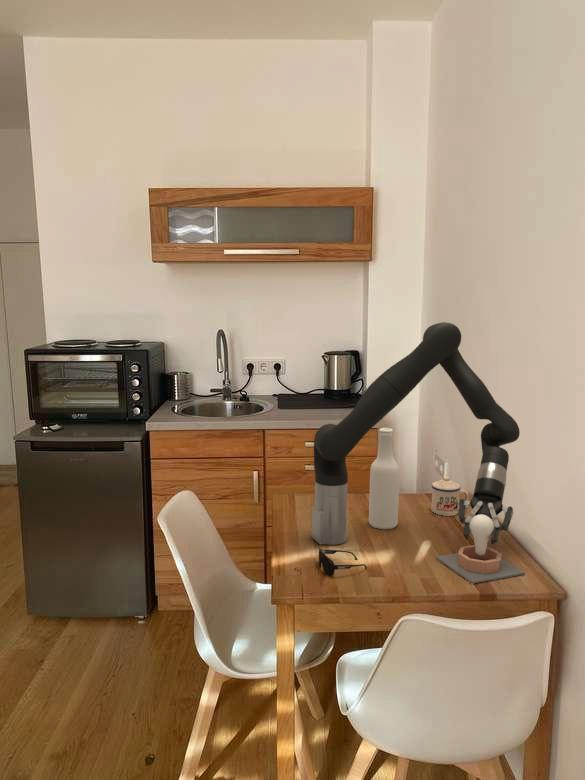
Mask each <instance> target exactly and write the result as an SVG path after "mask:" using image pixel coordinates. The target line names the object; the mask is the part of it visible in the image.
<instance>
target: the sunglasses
mask: <svg viewBox="0 0 585 780" xmlns="http://www.w3.org/2000/svg"><path fill="white" fill-rule="evenodd" d="M339 552H340V553H346V554H347V553H348V554H351V555H352V556H353V557H354V560H355V561H358V558H357V556H356V555H355V553H353V552H351V551H348V550H342V549H336V550H335V549H322V548H320V547H318V563H319V568H321V567H322V569H323V573H325V574H327V575H329V576H330V577H333V576H334V575H335V570H350V569H352V568H353V567H355V568H356V567H361V566H364V570H367V565H366V564H365V563H362V564H335V563H334V560H332V559H331V558H330V557H328V556H327V555H334V554H336V553H339Z"/></svg>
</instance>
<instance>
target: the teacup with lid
mask: <svg viewBox="0 0 585 780" xmlns="http://www.w3.org/2000/svg"><path fill="white" fill-rule="evenodd" d="M431 488H432V489H431V505H430V506H431V508H430V510H431V512H432V513H433V512H434V513H433V514H435V513H436V514H435V515H437V514H438V515H437V516H441V515H443V516H442V517H452V516H457V515H459V502H460V494H462V493H463V494H465V498H464V501H469V493H468V491H466V490H465V489H461V485H460V484H459V483H457V482H454V481H453V480H451V478H450V477H449V476H443V479H440V480H437V481H436V480H435V481H433V482H432V483H431Z"/></svg>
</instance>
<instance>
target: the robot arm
mask: <svg viewBox="0 0 585 780" xmlns="http://www.w3.org/2000/svg"><path fill="white" fill-rule="evenodd" d="M461 342H462V332H461V331H460V328H459V327H458V326H457V325H455V324H454V323H451V322H445V321H444V322H438V323H434V324H432V325H430V326H428V327H427V328H426V329H425V331H424V333H423V335H422V341H421V342H420V343H419V344H418V345H417V346H416V347H415V348H414V349H413V350H412V351H411V352H410V353H409V354H407V355H406V356H405V357H403V358H401V359H400V360H399V361H397V362H395V363H393V365H392V366H390V367H389V368H387V369H386V370H385V371H383V372H382V373H381V374H380V375H379V376H378V377H377V378H376V379H375V380H374V381H373V382H371V384H370V385H369V386H368V387H367V388H366V389H365V391H364V392H363V393H362V395H361V397H360V398H359V400H358V402H357V403H356V405H354V408H353V409H352V411H350V413H349V414H348V415H347V416H345V417H344V418H343V419H342V420H341V421H339V422H338V423H337V424H333V423H327V424H326V423H325V424H323V425H322V426H321V427H319V428H318V429H317V431H316V432H315V434H314V439H313V471H314V480H315V481H314V482H315V483H314V504H313V505H312V506H311V538H312V539H313V540H315V542H316V543H317V544H319V545H329V546H330V545H331V546H334V545H335V546H336V545H341V544H343V543H345V542H346V541H347V529H348V528H347V526H348V525H347V524H348V523H347V522H348V521H347V518H348V484H349V483H348V479H349V478H348V477H349V476H348V475H349V474H348V470H347V469H348V468H347V463H346V462H347V461H346V459H347V456H348V455H349V454H350V453H351V452H352V450H353V449H355V447H356V446H357V445H358V443H360V441H361V440H362V438H364V437H365V435H366V434H367V433H368V432H369V431H370V430H371V429H372V428H373V427H375V426H376V425H377V424H379V422H380V421H382V420H383V419H384V418H385V417H386V416H387V415H388V414H389V413H390V412H391V411H392V410H394V408H396V407H397V406H398V405H399V404H400V403H401V402H402V401H404V399H406V397H407V396H408V395H409V394H410V393H411V392H412V391H413V390H414V389H415V388H416V387H417V386H418V385H419V383H421V381H422V380H423V379H424V378H425V377H426V376H427V375H428V373H430V372H431V371H432V370H433V369H434V368H435V367H437V366H438V365H440V366H441V367H442V369H443V370H444V372H445V373H446V374H447V375H448V377H449V378H450V380H451V381H452V382H453V384H454V385H455V387H456V389H457V390H458V392H459V394H460V395H461V397H462V399H463V400H464V402H465V404H466V405H467V406H468V408H469V410H470V411H471V413H472V414H473V415H474V417H475V418H476V419H477V420H487V421H489V423H487V424H485V425H484V426H483V428H482V429H481V431H480V441H481V451H482V455H481V456H482V457H481V461H480V466H479V468H478V472H477V475H476V480H475V485H474V490H473V495H472V498H471V499H470V500H467V501H464V500H465V498H459V511H458V520H459V523H460V524H463V530H462V534H463V537H464V538H465V540H469V539H470V535H471V531H470V527H469V525H470V521H471V519H472V518H473V517H474V516H476V515H480V514H482V515H486V516H488V517H489V518H490V519H491V520H492V521H493V524H494V530H493V532H492V535H491V537H490V538H491V539H490V543H491V545H495V544H496V543H498V541H499V536H500V533H501V531H508V530H509V526H510V524H511V521H512V518H513V515H514V509H513V507H512V506H510V505H509V506H505V505H503V499H504V494H505V488H506V485H507V483H506V482H507V470H508V466H509V465H508V464H509V460H510V458H509V457H510V456H509V452H508V451H507V450H506V449H505V448H503V447H501V446H505V445H507V444H511V443H514V442H516V441H518V439H519V437H520V428H519V425H518V423H517V421H516V420H515V419H514V418H513V416H511V415H510V414H509V413H508V412H507V411H506V410H505V409H504V408H503V407H501V406H500V404H499V403H497V401H496V400H495V399H494V397H493V395H492V393H491V392H490V390H489V388H488V387H487V386H486V384H485V383H484V382H483V380H482V379H481V378H480V377H479V376H478V375H477V373H475V372H474V370H472V368H471V367H470V366H469V364H468V363H467V362H466V361H465V359H464V358H463V355H462V353H461V352H460V350H459V347H460V346H461ZM469 507H470V508H471V511H470V512H469V514H468V516H467V517H466V510H467V509H469ZM502 512H503V515H504V518H503V521H502V523H499V520H498V517H497V516H498V515H499V514H500V513H502Z"/></svg>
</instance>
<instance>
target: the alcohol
mask: <svg viewBox="0 0 585 780" xmlns="http://www.w3.org/2000/svg"><path fill="white" fill-rule="evenodd" d="M378 431H379V438H378V439H379V440H378V448H377V456H376V459H374V461H373V462H372V463H371V465H370V470H369V499H368V500H369V501H368V502H369V504H368V524H369V525H370V526H371V528H374V529H377V530H391V529H395V528H396V526H397V525H398V522H399V498H400V497H399V496H400V493H399V492H400V467H399V463H397V461H396V460H395V457H394V444H393V435H394V433H393V431H394V429H393V428H389V427H381V428H380V429H379V430H378Z"/></svg>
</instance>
